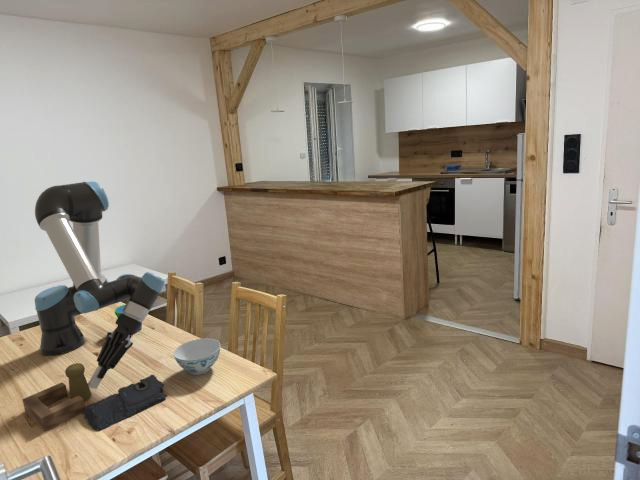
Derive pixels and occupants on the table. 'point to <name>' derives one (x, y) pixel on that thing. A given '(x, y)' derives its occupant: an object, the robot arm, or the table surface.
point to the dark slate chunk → (125, 403)
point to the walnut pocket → (57, 414)
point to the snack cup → (119, 311)
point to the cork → (77, 381)
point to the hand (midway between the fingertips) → (91, 387)
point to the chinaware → (197, 355)
